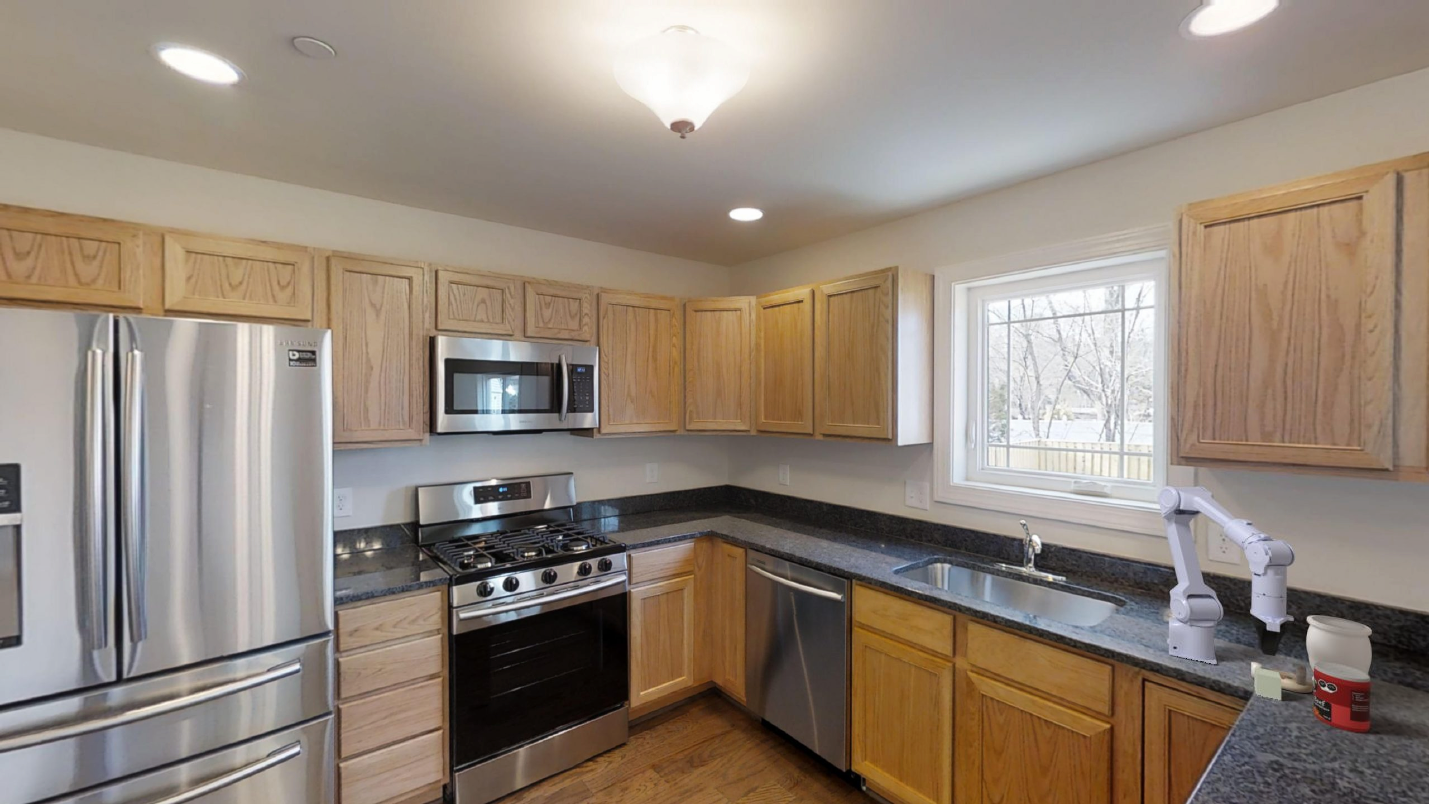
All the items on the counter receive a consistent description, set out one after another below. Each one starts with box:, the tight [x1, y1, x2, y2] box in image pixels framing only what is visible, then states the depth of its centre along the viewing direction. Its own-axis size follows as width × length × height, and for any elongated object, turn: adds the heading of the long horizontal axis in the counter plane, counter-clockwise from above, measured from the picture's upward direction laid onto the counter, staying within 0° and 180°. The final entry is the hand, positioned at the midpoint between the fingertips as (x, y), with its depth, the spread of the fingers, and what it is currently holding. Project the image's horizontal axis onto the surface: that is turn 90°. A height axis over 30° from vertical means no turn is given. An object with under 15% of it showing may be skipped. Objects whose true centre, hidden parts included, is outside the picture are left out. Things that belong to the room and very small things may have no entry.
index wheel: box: [1269, 664, 1314, 694], centre depth 136 cm, size 8×8×6 cm
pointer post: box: [1250, 661, 1263, 678], centre depth 139 cm, size 2×2×4 cm
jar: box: [1305, 615, 1373, 682], centre depth 136 cm, size 11×10×15 cm
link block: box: [1253, 667, 1282, 701], centre depth 132 cm, size 4×4×5 cm
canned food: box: [1312, 662, 1371, 734], centre depth 120 cm, size 8×8×11 cm
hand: (1268, 653), depth 132 cm, fingers closed
